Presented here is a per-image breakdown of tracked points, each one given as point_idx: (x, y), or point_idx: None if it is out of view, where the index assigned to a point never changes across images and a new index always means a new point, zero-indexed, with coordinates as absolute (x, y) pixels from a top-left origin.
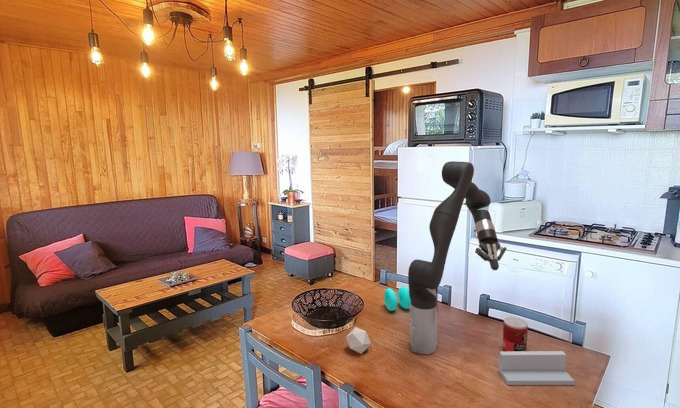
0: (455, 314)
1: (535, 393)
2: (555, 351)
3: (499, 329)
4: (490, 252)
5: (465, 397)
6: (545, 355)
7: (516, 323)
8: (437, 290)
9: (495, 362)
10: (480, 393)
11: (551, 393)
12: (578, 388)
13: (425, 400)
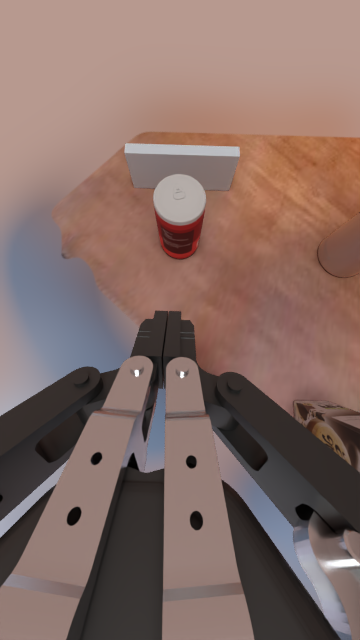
0: None
1: None
2: (138, 152)
3: None
4: (186, 434)
5: (293, 143)
6: (162, 145)
7: (178, 196)
8: (345, 426)
9: (225, 211)
10: (271, 149)
11: None
12: None
13: (347, 140)
